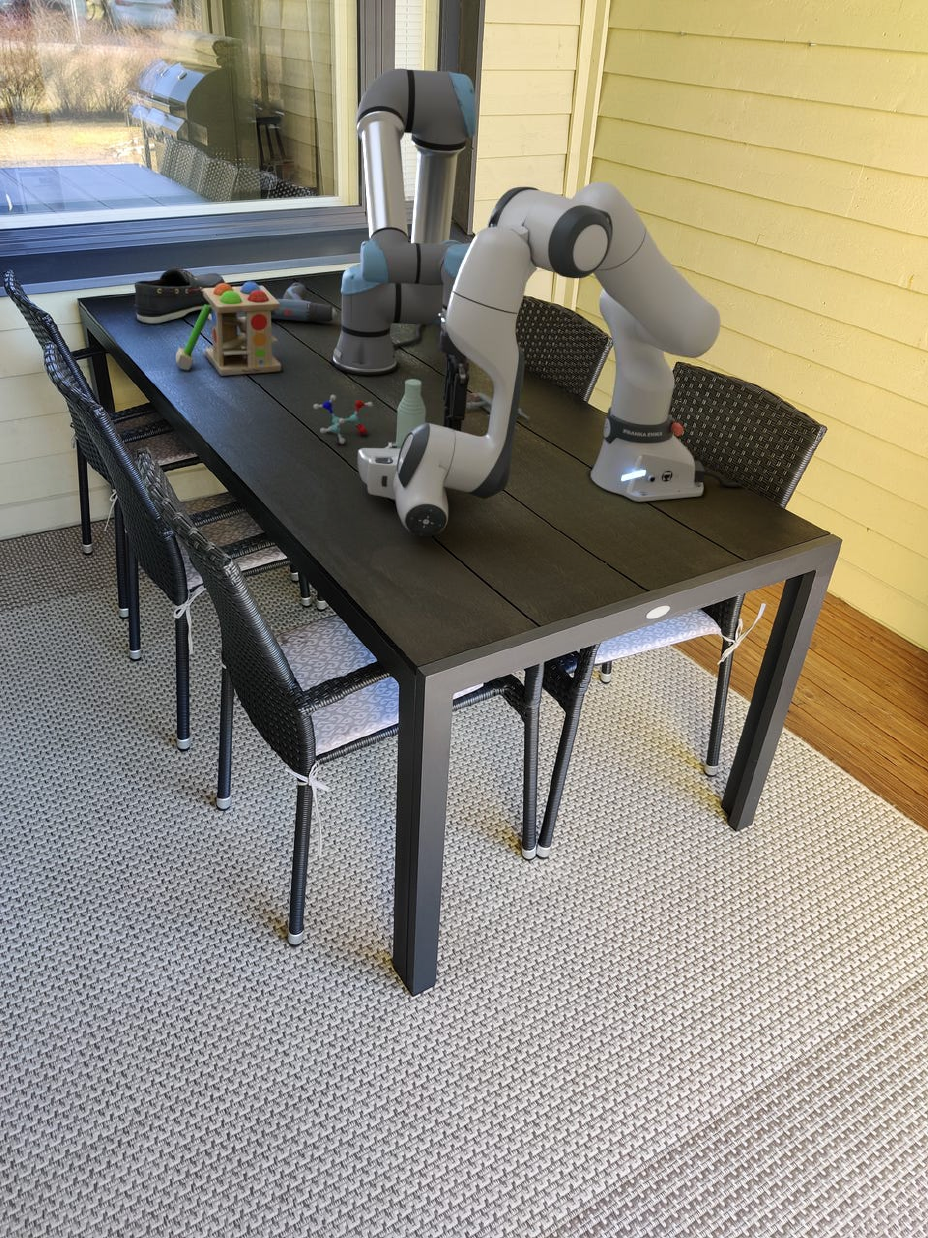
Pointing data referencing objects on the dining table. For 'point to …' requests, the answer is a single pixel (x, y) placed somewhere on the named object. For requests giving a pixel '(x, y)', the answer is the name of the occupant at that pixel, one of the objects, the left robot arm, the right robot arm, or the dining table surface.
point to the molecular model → (338, 421)
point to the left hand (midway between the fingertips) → (450, 442)
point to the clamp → (485, 403)
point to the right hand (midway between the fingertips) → (408, 446)
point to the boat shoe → (172, 295)
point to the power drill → (301, 307)
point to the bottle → (410, 411)
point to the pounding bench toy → (229, 347)
